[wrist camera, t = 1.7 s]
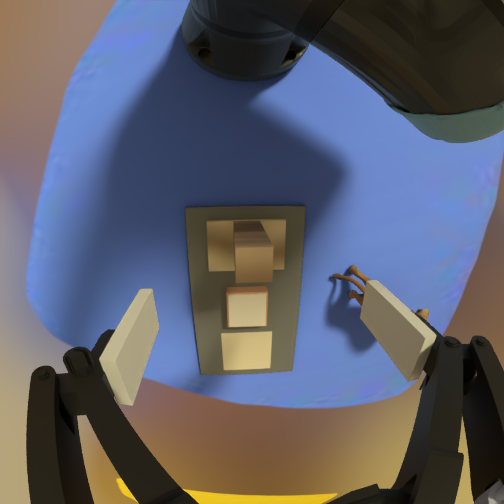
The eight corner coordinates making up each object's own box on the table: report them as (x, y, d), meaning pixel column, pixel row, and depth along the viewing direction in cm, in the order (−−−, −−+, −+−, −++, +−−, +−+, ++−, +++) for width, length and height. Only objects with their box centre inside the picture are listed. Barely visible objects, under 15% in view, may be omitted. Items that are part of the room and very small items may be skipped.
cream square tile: (226, 287, 34) (226, 293, 33) (266, 285, 35) (268, 292, 33) (227, 320, 36) (227, 328, 34) (265, 319, 36) (267, 326, 35)
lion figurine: (409, 292, 38) (442, 320, 30) (391, 320, 40) (420, 352, 31) (340, 257, 35) (371, 285, 27) (320, 291, 36) (345, 327, 28)
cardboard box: (207, 220, 32) (196, 248, 21) (284, 219, 32) (310, 246, 22) (209, 268, 33) (202, 315, 23) (282, 267, 34) (304, 311, 24)
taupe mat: (185, 207, 32) (185, 208, 31) (304, 205, 33) (305, 206, 32) (201, 372, 39) (201, 374, 39) (291, 368, 40) (292, 370, 40)
